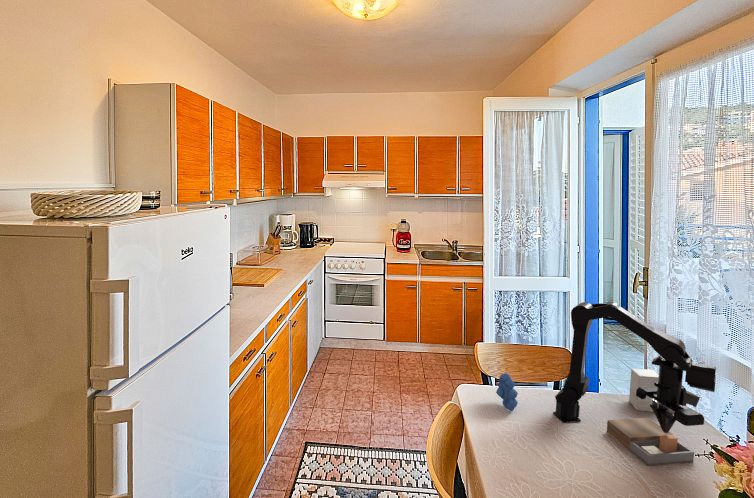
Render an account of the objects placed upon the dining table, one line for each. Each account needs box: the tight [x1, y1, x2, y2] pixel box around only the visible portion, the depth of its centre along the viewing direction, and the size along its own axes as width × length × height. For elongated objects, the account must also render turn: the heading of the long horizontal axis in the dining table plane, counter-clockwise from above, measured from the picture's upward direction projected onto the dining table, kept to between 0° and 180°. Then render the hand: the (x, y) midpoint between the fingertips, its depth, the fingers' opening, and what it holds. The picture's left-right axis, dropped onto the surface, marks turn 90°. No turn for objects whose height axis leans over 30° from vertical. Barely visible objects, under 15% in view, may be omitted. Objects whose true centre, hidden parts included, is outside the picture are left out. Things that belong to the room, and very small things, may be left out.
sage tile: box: [641, 446, 663, 454], centre depth 120 cm, size 4×4×2 cm
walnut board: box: [606, 417, 674, 451], centre depth 130 cm, size 14×10×4 cm
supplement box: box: [628, 368, 659, 413], centre depth 150 cm, size 7×7×13 cm
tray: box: [628, 439, 695, 467], centre depth 121 cm, size 14×7×3 cm, turn 98°
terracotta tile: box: [659, 433, 679, 452], centre depth 123 cm, size 4×4×2 cm
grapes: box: [495, 372, 519, 412], centre depth 149 cm, size 12×7×12 cm, turn 9°
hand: (665, 432), depth 125 cm, fingers closed
